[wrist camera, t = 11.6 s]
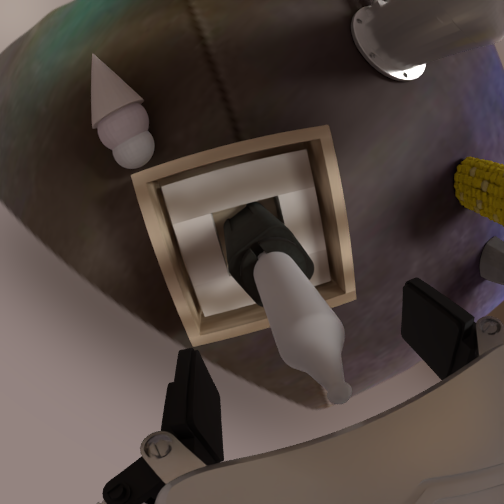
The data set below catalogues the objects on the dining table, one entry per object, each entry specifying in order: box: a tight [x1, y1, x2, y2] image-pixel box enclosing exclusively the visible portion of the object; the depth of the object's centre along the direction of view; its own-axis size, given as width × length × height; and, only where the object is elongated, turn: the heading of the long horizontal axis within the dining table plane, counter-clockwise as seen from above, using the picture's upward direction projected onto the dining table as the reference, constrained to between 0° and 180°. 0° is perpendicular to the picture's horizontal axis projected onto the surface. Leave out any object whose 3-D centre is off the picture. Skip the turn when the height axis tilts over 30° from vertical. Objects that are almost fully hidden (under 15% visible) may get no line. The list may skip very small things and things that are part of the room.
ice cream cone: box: [91, 53, 155, 169], centre depth 23 cm, size 6×6×15 cm
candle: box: [223, 202, 352, 404], centre depth 19 cm, size 5×5×25 cm
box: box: [131, 125, 356, 347], centre depth 29 cm, size 19×19×6 cm
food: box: [454, 157, 504, 227], centre depth 28 cm, size 14×11×9 cm
